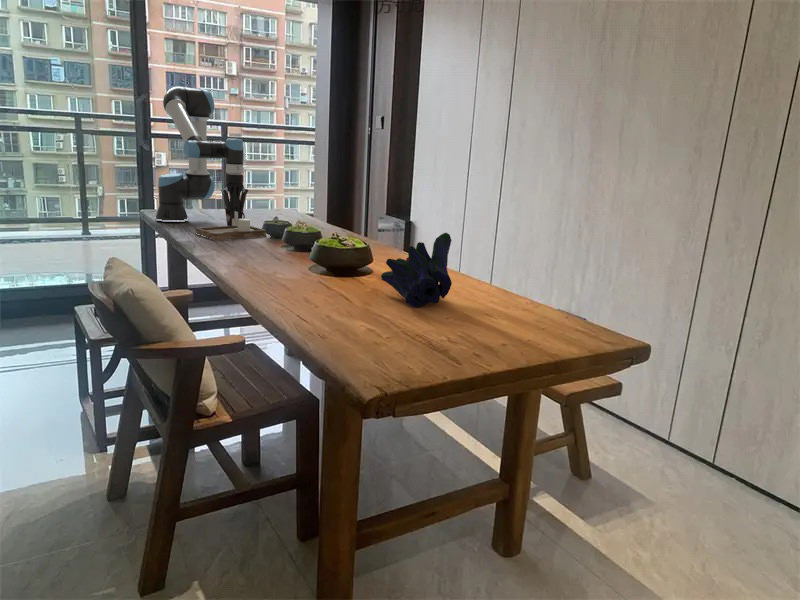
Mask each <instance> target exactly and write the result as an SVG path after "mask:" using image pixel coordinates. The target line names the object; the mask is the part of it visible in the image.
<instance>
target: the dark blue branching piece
mask: <svg viewBox="0 0 800 600" xmlns="http://www.w3.org/2000/svg"><path fill="white" fill-rule="evenodd" d="M451 244H452V238H451V234H449V233H448V232H444V233H442V234H440V235H439V236H437V237H435V240H434V242H433V244H432V245H433V247H432V252H431V256H430V254H429V253H428V251H427V248H426V245H425V243H424V242H422V241H419V242H417V244H416V246H415V247H414V246H413V245H409V246H408V247H407V253H408V254H407V255H408V257H406V259H404V258H397V259H394V258H387V259H386V261H385V264H386V265H387V266H388V267H389V269H390V270H388V271H385V272H382V273H381V275H380V277H381V281H383V282H385V283H387V284H388V285H390V286H391V287H392V288H393V289H394V290H395V291H397V293H398V294H399V295H400V296H401V297H402V298H403V299H404V300H405V303H406V304H408V305H410V306H412V307H413V308H415V309H417V308H421V307H423V306H425V305H427V304H429V303H432V304H434V305H435V304H438V303H439V301H440V298H441V299H445V298H446V297H447V295H448V294H449V292H450V291H451V287H452V284H453V282H452V279H451V277H450V274H449V272H448V260H449V259H448V258H449V252H450V247H451Z"/></svg>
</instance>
